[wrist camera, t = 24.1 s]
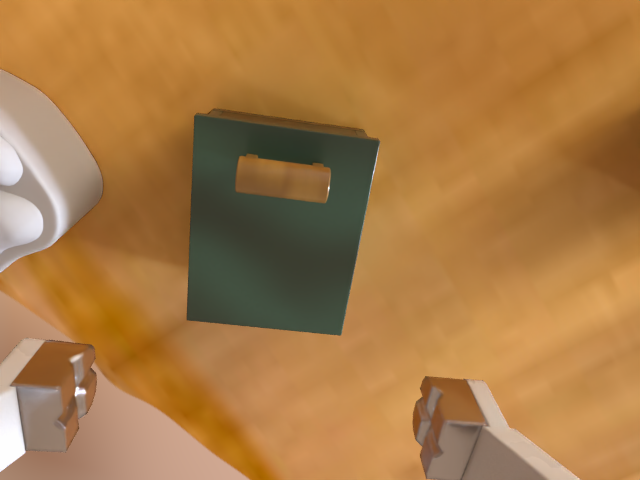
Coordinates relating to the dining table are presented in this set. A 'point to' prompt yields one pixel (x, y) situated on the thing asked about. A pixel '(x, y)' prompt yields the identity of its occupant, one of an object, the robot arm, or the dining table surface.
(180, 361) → the dining table surface
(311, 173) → the case lid
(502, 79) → the dining table surface
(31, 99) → the lumpy-topped squat cylinder
